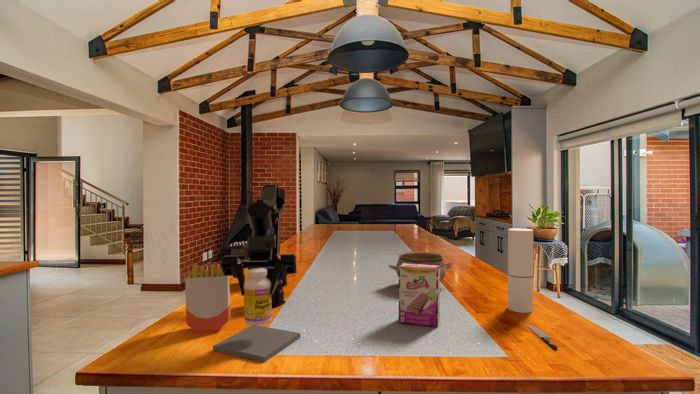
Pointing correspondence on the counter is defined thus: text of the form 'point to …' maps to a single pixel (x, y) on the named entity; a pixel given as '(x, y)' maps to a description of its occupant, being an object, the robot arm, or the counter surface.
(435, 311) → the candy bar box
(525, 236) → the cylindrical container
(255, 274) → the supplement bottle
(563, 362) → the counter surface
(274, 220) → the robot arm
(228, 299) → the french fries container
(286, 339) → the charcoal mat
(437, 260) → the cooking pot
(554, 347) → the chef's knife
